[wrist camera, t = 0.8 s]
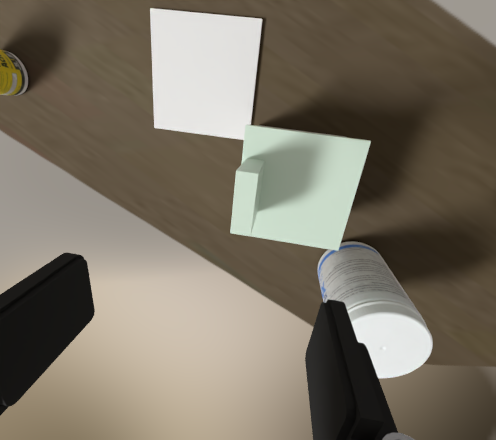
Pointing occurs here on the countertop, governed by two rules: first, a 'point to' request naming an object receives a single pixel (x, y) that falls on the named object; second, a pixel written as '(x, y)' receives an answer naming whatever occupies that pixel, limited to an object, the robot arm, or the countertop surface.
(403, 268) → the countertop surface
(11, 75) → the supplement bottle
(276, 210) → the lid
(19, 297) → the robot arm
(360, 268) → the supplement tub
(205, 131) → the mat
